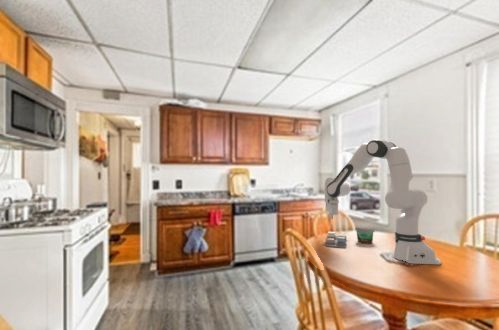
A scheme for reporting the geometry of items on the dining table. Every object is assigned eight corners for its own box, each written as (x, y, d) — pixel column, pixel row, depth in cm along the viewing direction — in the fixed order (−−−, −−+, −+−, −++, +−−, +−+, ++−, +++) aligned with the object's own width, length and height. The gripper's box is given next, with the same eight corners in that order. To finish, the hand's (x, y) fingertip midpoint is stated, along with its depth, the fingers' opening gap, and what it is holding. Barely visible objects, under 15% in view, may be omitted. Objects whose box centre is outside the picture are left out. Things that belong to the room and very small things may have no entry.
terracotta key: (334, 242, 183) (334, 238, 183) (333, 244, 179) (333, 240, 179) (327, 241, 185) (327, 238, 185) (327, 243, 180) (326, 239, 180)
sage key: (345, 238, 194) (345, 234, 194) (345, 239, 190) (345, 236, 190) (338, 237, 195) (338, 234, 196) (338, 239, 191) (338, 235, 191)
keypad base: (346, 238, 198) (346, 235, 198) (346, 248, 172) (346, 244, 172) (327, 236, 203) (327, 233, 203) (325, 246, 176) (325, 243, 176)
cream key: (334, 235, 196) (334, 231, 196) (334, 236, 192) (334, 233, 192) (328, 235, 198) (328, 231, 198) (328, 236, 194) (328, 232, 194)
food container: (356, 243, 183) (356, 228, 184) (355, 241, 189) (355, 227, 190) (376, 244, 180) (375, 229, 180) (374, 242, 186) (374, 227, 186)
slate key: (345, 241, 181) (345, 237, 181) (345, 242, 177) (345, 238, 177) (338, 240, 182) (338, 236, 182) (337, 242, 178) (337, 238, 178)
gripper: (323, 198, 206) (323, 216, 206) (330, 201, 186) (330, 221, 185) (331, 198, 206) (331, 216, 206) (339, 201, 186) (339, 221, 185)
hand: (331, 218), depth 195 cm, fingers closed
